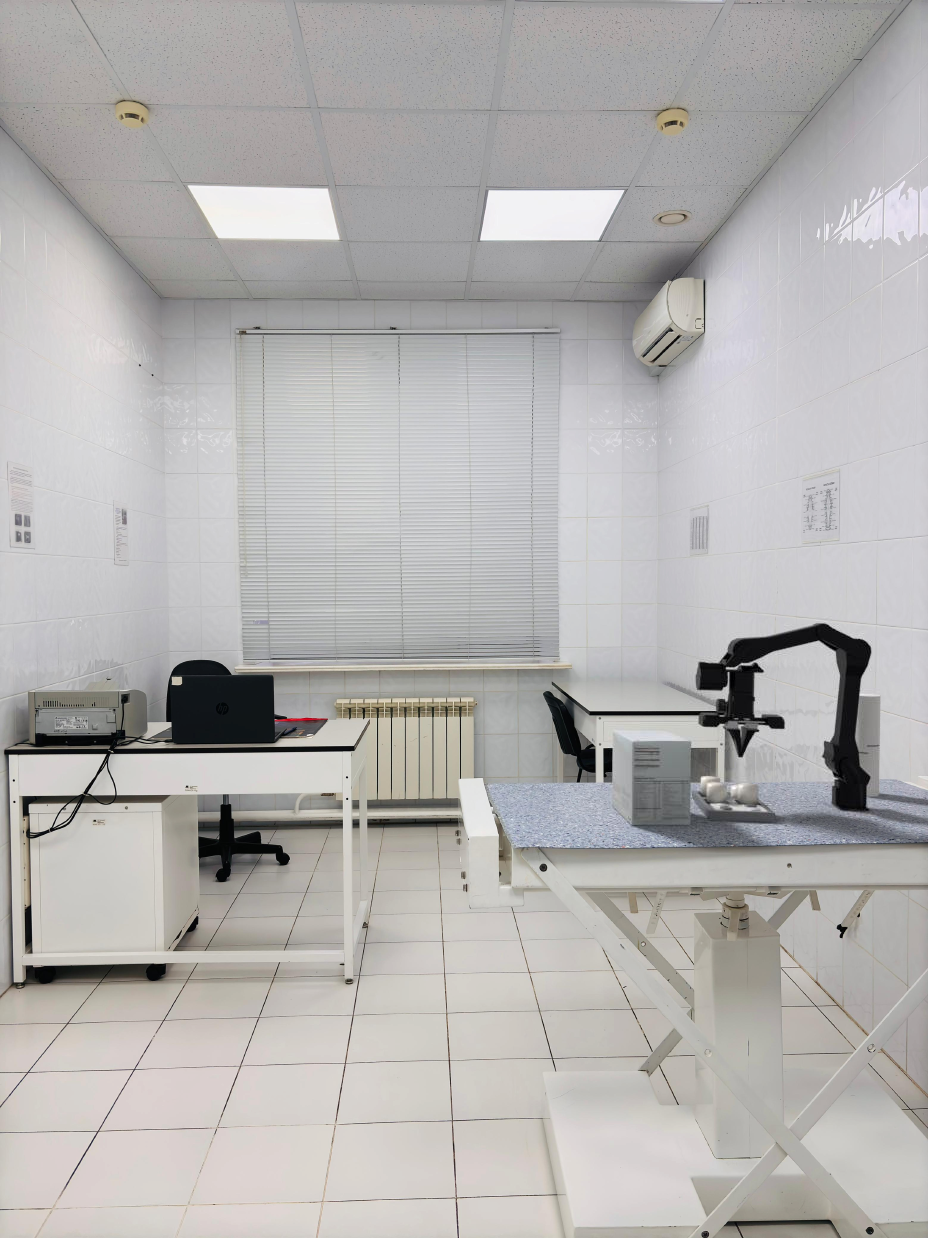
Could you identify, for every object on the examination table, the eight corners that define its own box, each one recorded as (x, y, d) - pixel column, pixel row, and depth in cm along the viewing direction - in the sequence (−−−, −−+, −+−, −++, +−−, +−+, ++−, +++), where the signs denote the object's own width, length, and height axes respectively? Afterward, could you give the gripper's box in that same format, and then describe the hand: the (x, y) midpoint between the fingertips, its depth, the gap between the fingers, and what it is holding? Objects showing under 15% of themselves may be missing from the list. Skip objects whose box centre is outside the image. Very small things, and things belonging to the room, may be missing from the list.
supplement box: (692, 826, 172) (693, 741, 171) (630, 826, 171) (631, 741, 171) (666, 806, 189) (667, 729, 189) (610, 807, 188) (611, 729, 188)
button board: (751, 800, 195) (751, 790, 195) (775, 822, 175) (775, 811, 175) (691, 798, 197) (692, 789, 197) (708, 820, 177) (709, 809, 177)
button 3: (747, 802, 194) (747, 785, 194) (752, 806, 189) (752, 789, 189) (728, 801, 194) (728, 784, 194) (733, 805, 190) (733, 788, 190)
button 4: (755, 800, 187) (755, 783, 187) (760, 805, 182) (760, 787, 182) (735, 800, 187) (736, 783, 187) (740, 804, 183) (740, 787, 183)
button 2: (724, 799, 187) (724, 782, 187) (728, 804, 183) (728, 786, 183) (704, 799, 188) (705, 782, 188) (708, 803, 183) (708, 786, 183)
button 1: (717, 793, 194) (717, 776, 194) (721, 797, 190) (721, 780, 190) (698, 792, 195) (699, 776, 195) (702, 796, 190) (702, 779, 190)
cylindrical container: (884, 797, 201) (886, 696, 200) (855, 796, 201) (857, 696, 200) (870, 790, 208) (871, 693, 208) (842, 790, 208) (843, 693, 208)
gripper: (772, 689, 198) (771, 752, 199) (694, 687, 200) (693, 750, 200) (786, 693, 187) (784, 760, 188) (703, 691, 189) (702, 758, 189)
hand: (740, 757), depth 191 cm, fingers closed
